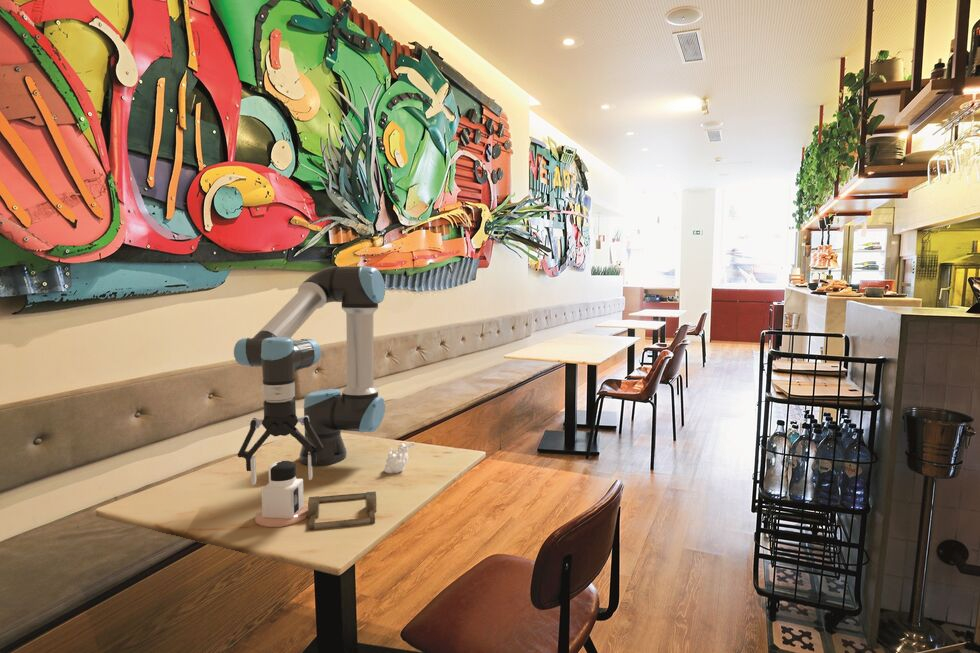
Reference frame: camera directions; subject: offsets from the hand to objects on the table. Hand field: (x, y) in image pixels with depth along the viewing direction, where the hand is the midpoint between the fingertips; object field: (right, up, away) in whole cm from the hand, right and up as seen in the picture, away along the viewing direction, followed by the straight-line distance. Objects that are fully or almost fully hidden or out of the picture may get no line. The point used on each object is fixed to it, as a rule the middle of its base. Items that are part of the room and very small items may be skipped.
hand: (282, 480), depth 142 cm
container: (0, -9, +1) cm, 9 cm away
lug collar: (+15, -9, +3) cm, 17 cm away
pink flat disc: (0, -9, 0) cm, 9 cm away
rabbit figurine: (+25, -7, +34) cm, 43 cm away
